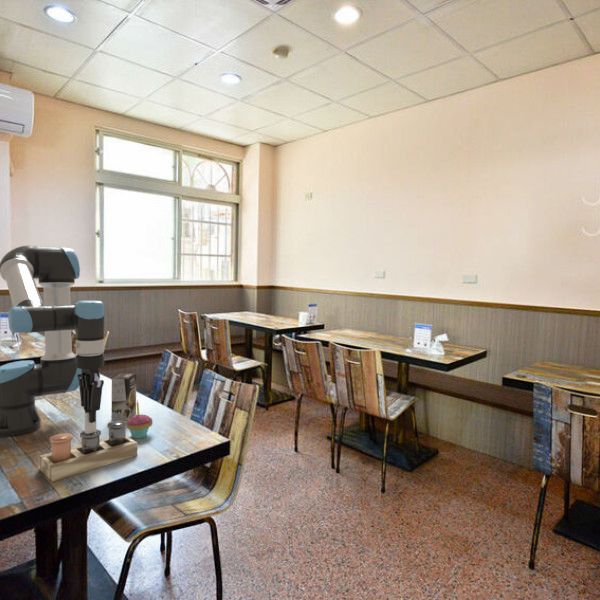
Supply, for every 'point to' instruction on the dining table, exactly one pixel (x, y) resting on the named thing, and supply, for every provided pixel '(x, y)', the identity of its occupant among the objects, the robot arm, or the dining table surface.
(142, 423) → the cupcake
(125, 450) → the wooden holder
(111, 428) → the plug
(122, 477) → the dining table surface
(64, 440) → the plug terracotta
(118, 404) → the coffee box
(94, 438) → the plug
